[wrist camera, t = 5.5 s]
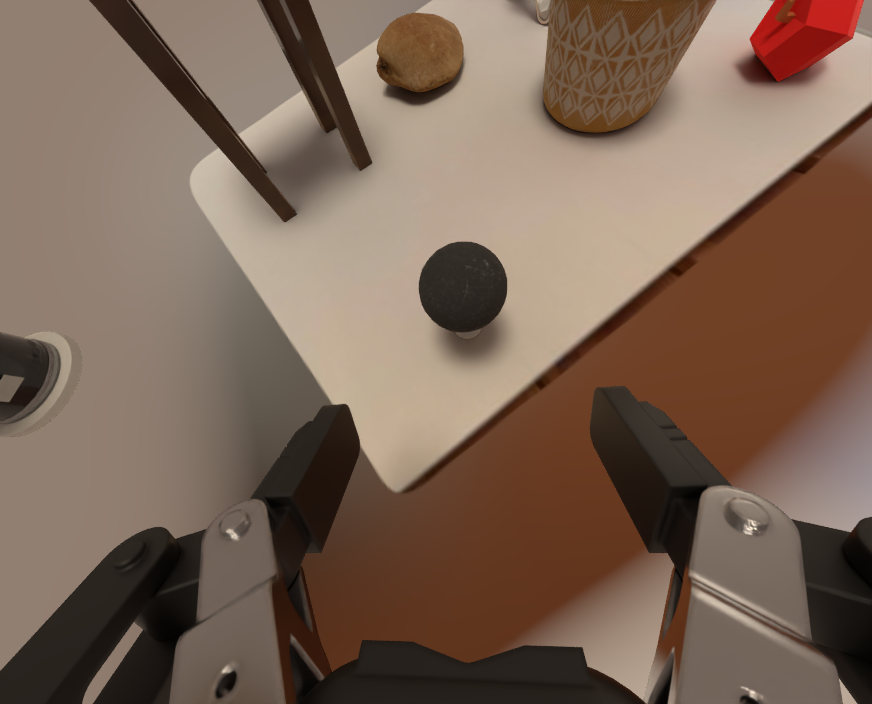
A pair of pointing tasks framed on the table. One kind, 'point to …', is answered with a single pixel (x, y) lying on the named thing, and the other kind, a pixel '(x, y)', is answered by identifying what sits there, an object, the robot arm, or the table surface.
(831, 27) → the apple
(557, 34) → the planter
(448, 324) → the light bulb
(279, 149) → the table surface
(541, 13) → the tablet stand
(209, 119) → the walnut stand
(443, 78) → the stone
